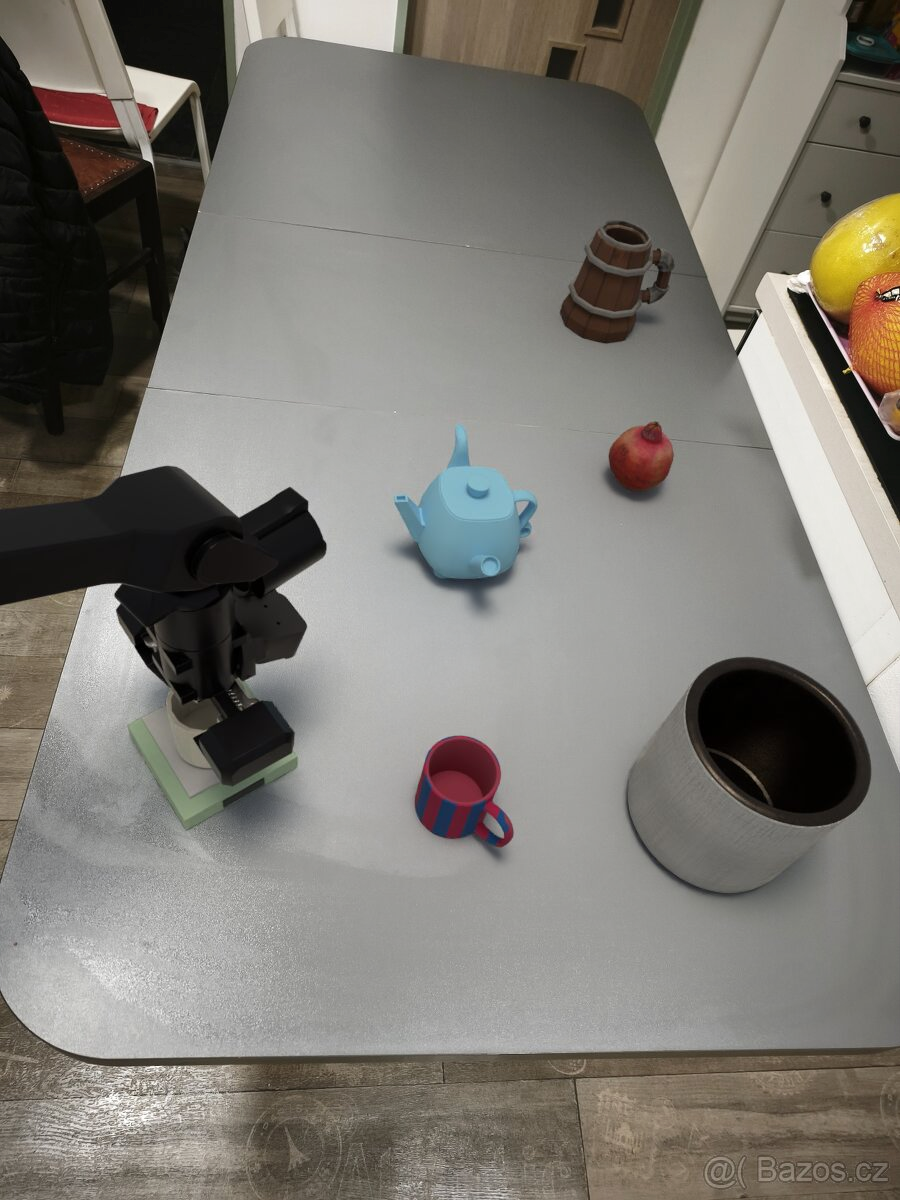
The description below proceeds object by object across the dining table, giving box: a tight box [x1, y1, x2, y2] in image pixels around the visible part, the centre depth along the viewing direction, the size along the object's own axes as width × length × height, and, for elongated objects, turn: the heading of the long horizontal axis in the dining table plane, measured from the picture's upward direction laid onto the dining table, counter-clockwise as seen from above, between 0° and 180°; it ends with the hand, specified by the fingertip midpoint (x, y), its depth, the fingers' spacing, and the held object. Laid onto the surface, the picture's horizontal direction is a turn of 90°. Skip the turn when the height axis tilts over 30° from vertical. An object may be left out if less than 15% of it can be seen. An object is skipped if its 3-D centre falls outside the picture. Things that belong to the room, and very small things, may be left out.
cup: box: [414, 735, 515, 848], centre depth 72 cm, size 7×10×7 cm
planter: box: [627, 656, 872, 894], centre depth 72 cm, size 16×16×16 cm
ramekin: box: [165, 678, 246, 768], centre depth 70 cm, size 6×6×6 cm
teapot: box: [393, 423, 538, 580], centre depth 91 cm, size 15×14×11 cm
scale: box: [126, 678, 299, 831], centre depth 74 cm, size 11×11×2 cm
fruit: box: [608, 420, 675, 492], centre depth 104 cm, size 8×8×10 cm
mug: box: [559, 218, 676, 344], centre depth 126 cm, size 16×12×15 cm
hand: (210, 727), depth 71 cm, fingers closed on ramekin, 6 cm apart
